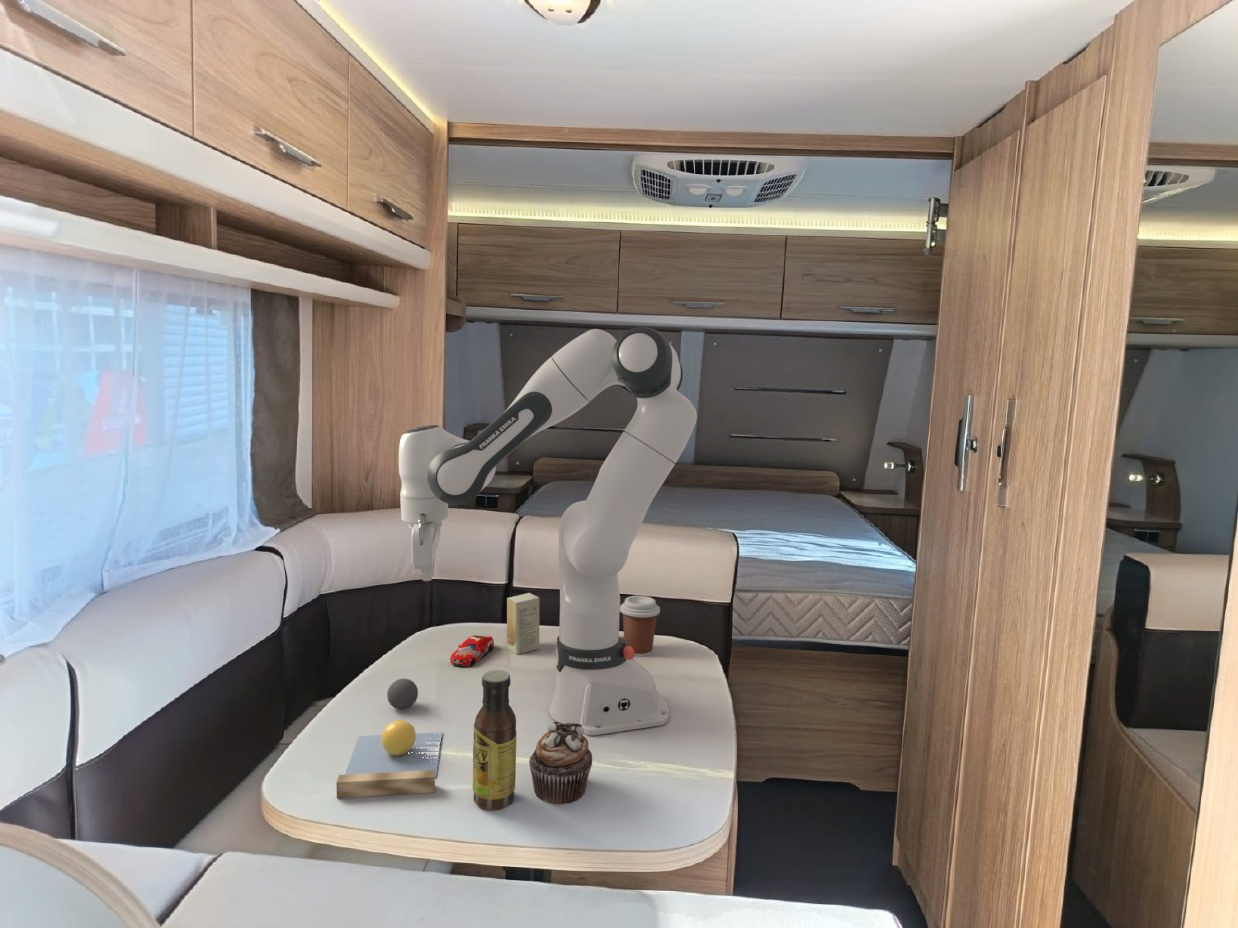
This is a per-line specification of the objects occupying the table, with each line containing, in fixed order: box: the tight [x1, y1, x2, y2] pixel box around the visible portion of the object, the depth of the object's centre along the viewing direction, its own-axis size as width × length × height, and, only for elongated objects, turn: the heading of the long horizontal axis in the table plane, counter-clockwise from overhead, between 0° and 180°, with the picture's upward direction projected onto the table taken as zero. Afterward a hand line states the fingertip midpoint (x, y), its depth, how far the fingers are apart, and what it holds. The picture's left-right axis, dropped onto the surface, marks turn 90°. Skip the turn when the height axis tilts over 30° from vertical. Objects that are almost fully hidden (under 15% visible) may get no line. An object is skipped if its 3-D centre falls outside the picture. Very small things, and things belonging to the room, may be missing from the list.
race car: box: [449, 634, 495, 667], centre depth 164 cm, size 13×5×4 cm, turn 161°
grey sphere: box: [386, 678, 419, 710], centre depth 139 cm, size 6×6×6 cm
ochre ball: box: [381, 719, 416, 756], centre depth 123 cm, size 6×6×6 cm
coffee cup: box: [620, 595, 661, 658], centre depth 170 cm, size 9×9×12 cm
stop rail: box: [336, 770, 436, 799], centre depth 113 cm, size 14×2×2 cm, turn 99°
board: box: [344, 731, 444, 779], centre depth 123 cm, size 14×14×1 cm
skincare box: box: [506, 592, 540, 656], centre depth 168 cm, size 6×4×12 cm
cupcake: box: [528, 720, 593, 805], centre depth 115 cm, size 10×10×10 cm
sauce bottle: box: [472, 669, 517, 811], centre depth 110 cm, size 6×6×20 cm
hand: (427, 578), depth 147 cm, fingers closed
